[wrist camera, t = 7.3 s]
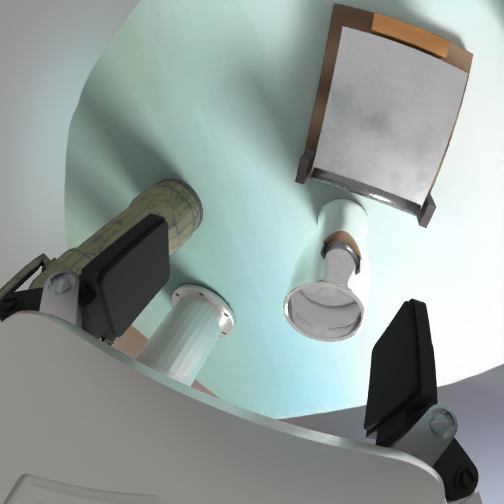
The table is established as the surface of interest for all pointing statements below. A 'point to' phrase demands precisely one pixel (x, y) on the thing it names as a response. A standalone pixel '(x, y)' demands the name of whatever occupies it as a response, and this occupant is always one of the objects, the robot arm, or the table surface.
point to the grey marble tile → (387, 120)
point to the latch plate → (330, 61)
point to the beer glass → (332, 276)
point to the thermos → (150, 201)
